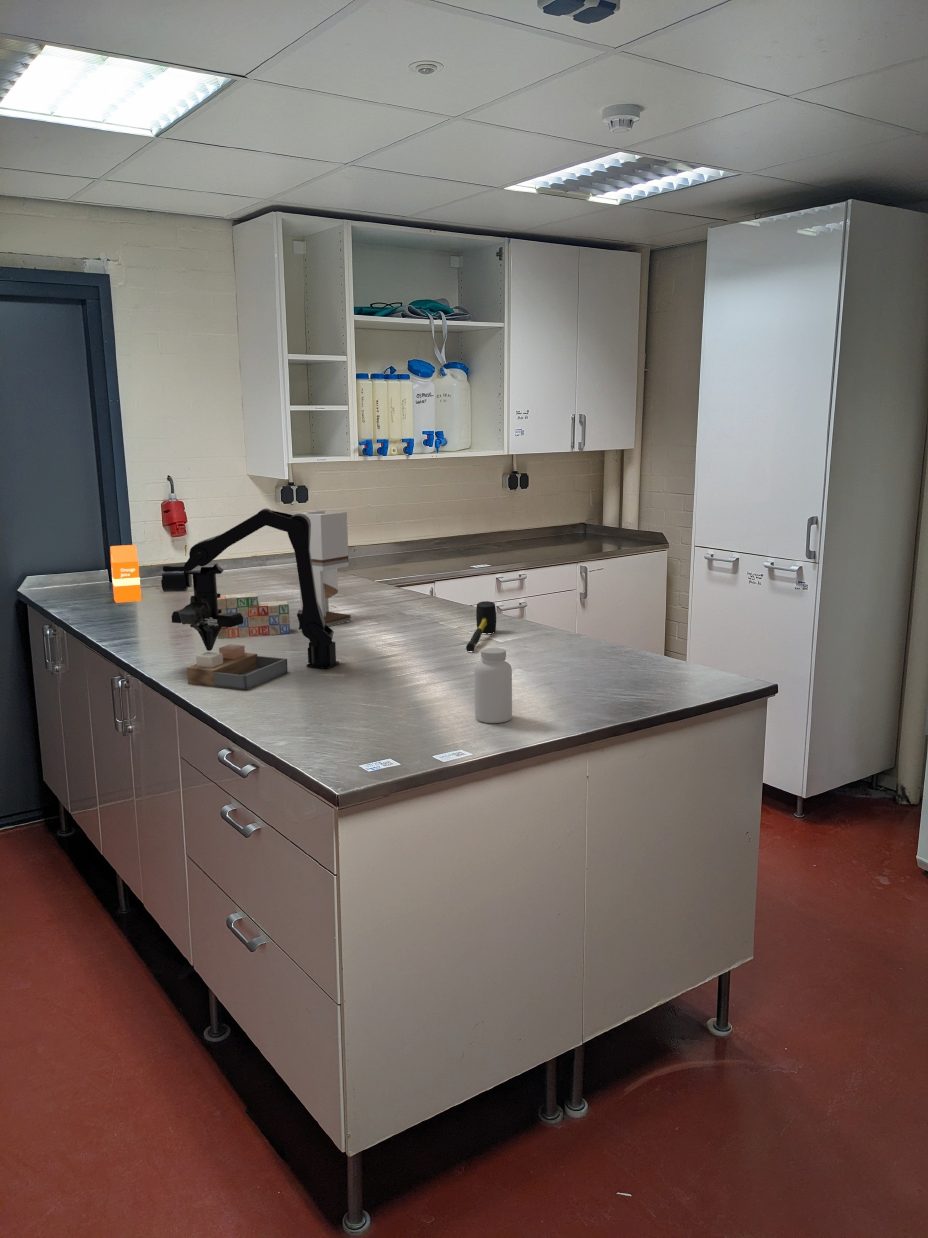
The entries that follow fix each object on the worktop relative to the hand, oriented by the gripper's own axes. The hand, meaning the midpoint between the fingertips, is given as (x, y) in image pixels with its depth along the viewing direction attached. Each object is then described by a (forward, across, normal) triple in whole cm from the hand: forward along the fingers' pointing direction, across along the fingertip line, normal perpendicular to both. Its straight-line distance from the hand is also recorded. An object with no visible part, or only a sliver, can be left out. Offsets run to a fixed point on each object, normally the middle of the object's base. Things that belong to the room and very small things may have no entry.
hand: (209, 650), depth 244 cm
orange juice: (+5, -91, +70) cm, 115 cm away
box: (+5, +16, -5) cm, 17 cm away
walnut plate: (+5, +8, -4) cm, 10 cm away
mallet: (+6, +54, +54) cm, 76 cm away
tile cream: (+1, +7, -9) cm, 12 cm away
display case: (+5, -2, +62) cm, 62 cm away
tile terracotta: (+1, +7, 0) cm, 7 cm away
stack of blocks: (+5, -14, +39) cm, 42 cm away
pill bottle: (+5, +84, -12) cm, 85 cm away
